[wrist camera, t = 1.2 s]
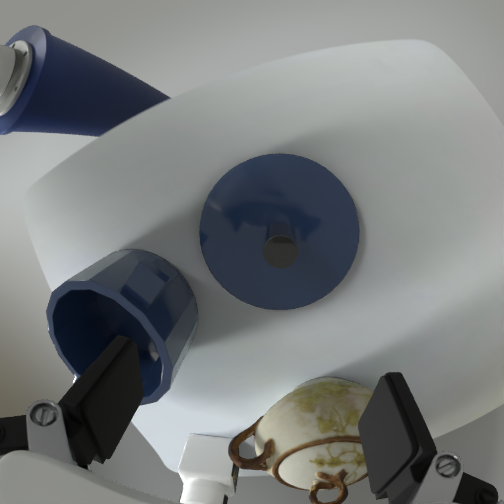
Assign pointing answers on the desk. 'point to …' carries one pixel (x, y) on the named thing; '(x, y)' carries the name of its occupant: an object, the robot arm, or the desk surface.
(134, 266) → the pot
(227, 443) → the medicine bottle
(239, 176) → the lid
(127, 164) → the desk surface
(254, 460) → the sugar bowl
